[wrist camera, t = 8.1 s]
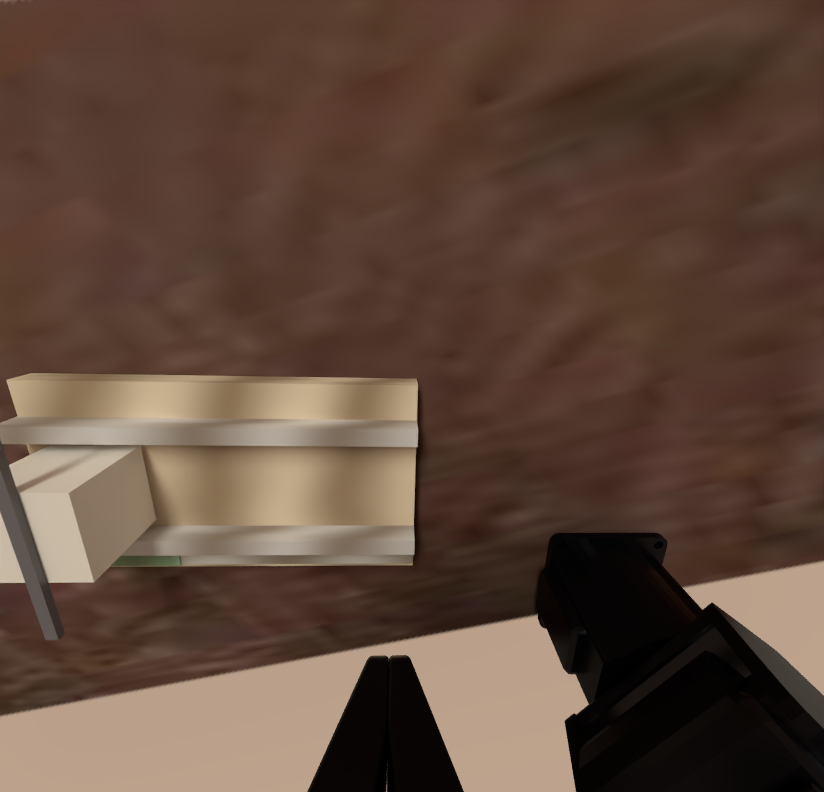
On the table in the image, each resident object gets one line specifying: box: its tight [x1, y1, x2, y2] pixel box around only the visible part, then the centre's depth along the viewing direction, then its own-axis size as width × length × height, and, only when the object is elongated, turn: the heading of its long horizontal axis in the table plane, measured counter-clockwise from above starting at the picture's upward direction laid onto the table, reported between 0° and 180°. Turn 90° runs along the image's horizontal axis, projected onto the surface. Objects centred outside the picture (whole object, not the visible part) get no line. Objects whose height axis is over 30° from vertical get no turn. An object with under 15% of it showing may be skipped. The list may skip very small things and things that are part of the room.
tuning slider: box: [0, 440, 156, 640], centre depth 16 cm, size 4×9×4 cm, turn 179°
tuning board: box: [0, 373, 418, 567], centre depth 18 cm, size 18×10×2 cm, turn 89°
